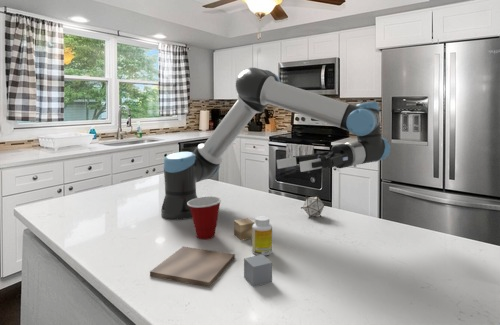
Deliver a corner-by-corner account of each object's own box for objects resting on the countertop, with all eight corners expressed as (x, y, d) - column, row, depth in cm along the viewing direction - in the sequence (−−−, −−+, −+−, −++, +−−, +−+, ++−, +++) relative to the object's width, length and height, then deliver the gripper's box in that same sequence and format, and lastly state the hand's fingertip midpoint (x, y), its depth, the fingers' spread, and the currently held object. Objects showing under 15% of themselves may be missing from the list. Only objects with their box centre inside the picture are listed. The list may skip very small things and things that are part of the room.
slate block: (253, 287, 78) (253, 266, 77) (244, 277, 83) (243, 258, 82) (272, 282, 80) (272, 262, 80) (262, 273, 85) (262, 254, 84)
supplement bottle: (275, 254, 95) (275, 219, 94) (257, 258, 93) (257, 222, 91) (265, 247, 100) (266, 213, 99) (249, 250, 98) (249, 216, 96)
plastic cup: (189, 230, 114) (188, 195, 112) (221, 229, 115) (221, 195, 113) (186, 243, 103) (184, 205, 101) (221, 242, 104) (221, 204, 102)
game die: (317, 227, 127) (326, 211, 120) (296, 218, 129) (304, 202, 122) (322, 210, 134) (331, 194, 127) (301, 201, 135) (309, 185, 128)
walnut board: (150, 276, 83) (149, 271, 83) (183, 250, 98) (183, 246, 98) (209, 287, 78) (209, 282, 78) (234, 258, 93) (234, 254, 93)
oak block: (240, 240, 106) (240, 225, 105) (234, 235, 110) (233, 220, 109) (254, 237, 108) (254, 222, 107) (247, 232, 112) (247, 218, 111)
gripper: (376, 169, 96) (313, 182, 88) (324, 164, 119) (270, 174, 111) (374, 143, 96) (310, 153, 88) (322, 143, 119) (268, 152, 111)
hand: (288, 165), depth 100 cm, fingers open, 13 cm apart
